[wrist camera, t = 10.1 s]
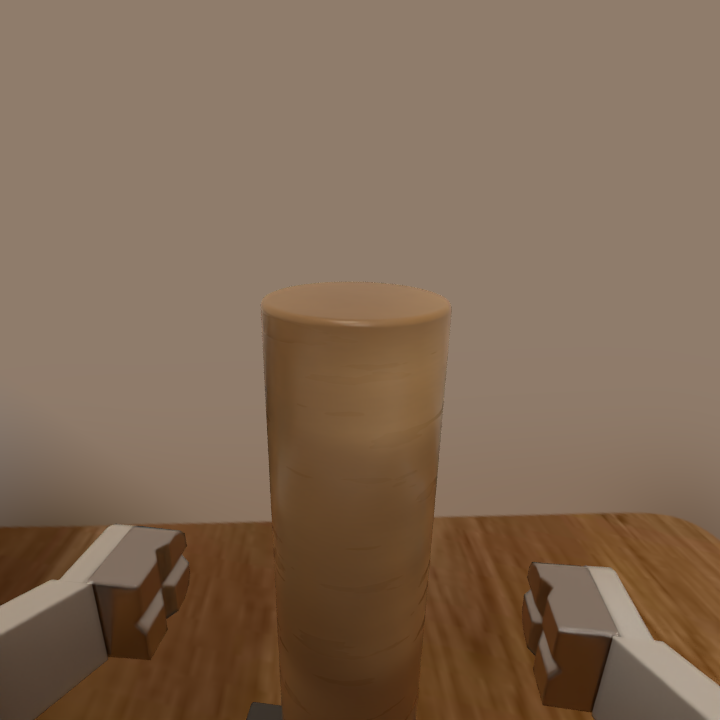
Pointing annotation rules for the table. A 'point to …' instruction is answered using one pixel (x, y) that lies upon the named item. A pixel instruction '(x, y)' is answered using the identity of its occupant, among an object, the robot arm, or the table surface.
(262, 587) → the table surface
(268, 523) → the table surface
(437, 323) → the wooden rod on block
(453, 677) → the table surface
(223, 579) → the table surface
